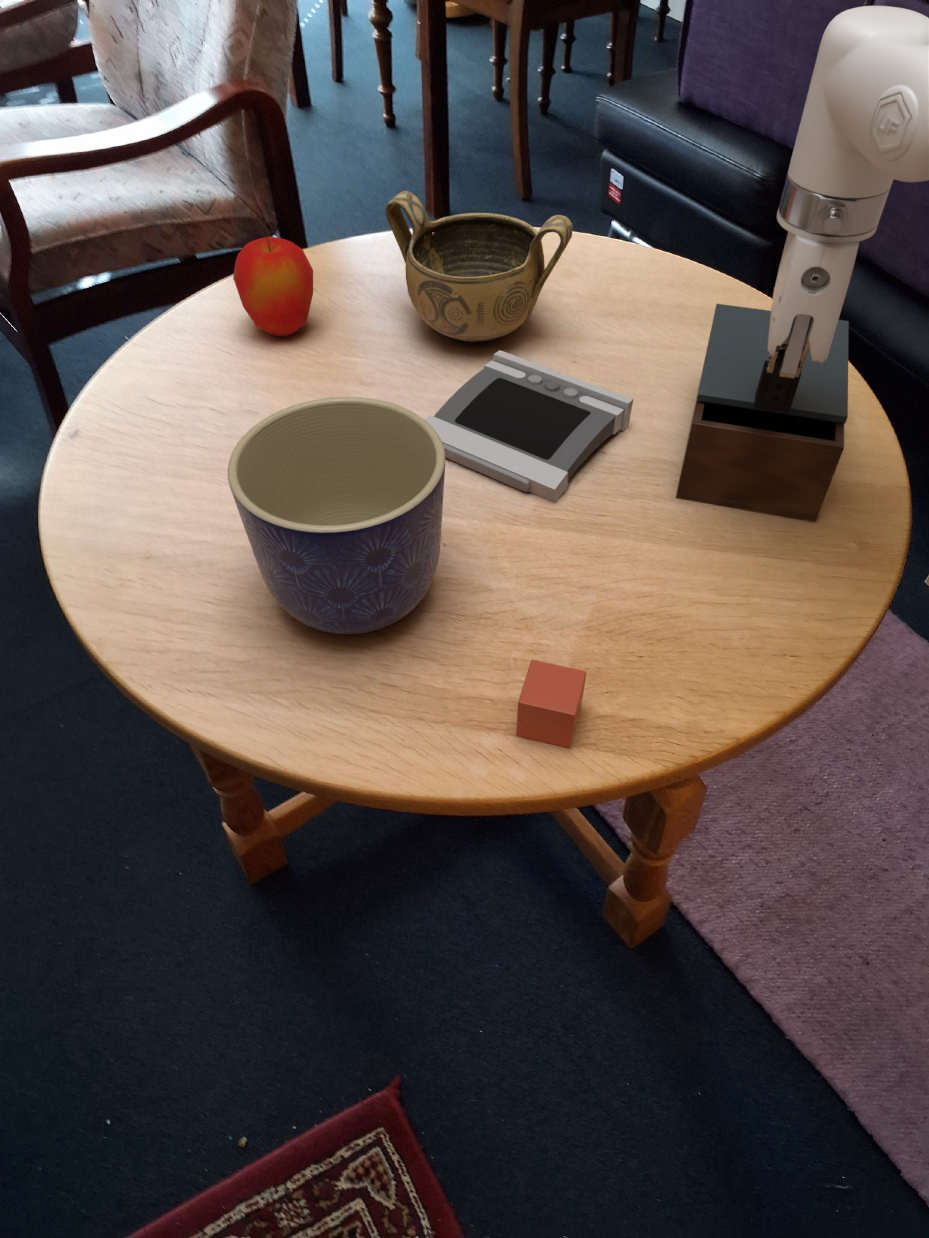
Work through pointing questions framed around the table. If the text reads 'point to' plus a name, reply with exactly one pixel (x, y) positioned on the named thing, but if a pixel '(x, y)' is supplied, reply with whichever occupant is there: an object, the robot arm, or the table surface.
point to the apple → (274, 284)
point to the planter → (342, 509)
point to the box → (759, 460)
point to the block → (550, 703)
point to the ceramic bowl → (473, 267)
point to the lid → (744, 351)
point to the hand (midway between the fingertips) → (771, 405)
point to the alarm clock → (528, 424)
